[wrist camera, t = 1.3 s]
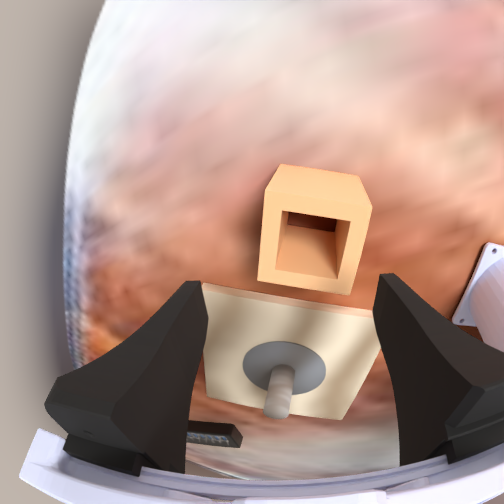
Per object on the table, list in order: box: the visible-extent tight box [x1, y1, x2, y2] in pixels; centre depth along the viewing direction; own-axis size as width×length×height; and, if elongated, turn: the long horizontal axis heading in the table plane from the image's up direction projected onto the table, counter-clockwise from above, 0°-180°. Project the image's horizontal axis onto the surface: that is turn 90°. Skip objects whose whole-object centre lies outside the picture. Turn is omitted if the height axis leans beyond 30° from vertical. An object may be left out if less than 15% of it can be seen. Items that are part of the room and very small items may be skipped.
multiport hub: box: [186, 420, 243, 448], centre depth 39 cm, size 4×14×2 cm, turn 108°
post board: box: [202, 283, 381, 420], centre depth 26 cm, size 16×16×6 cm
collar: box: [257, 164, 372, 295], centre depth 18 cm, size 5×5×6 cm
